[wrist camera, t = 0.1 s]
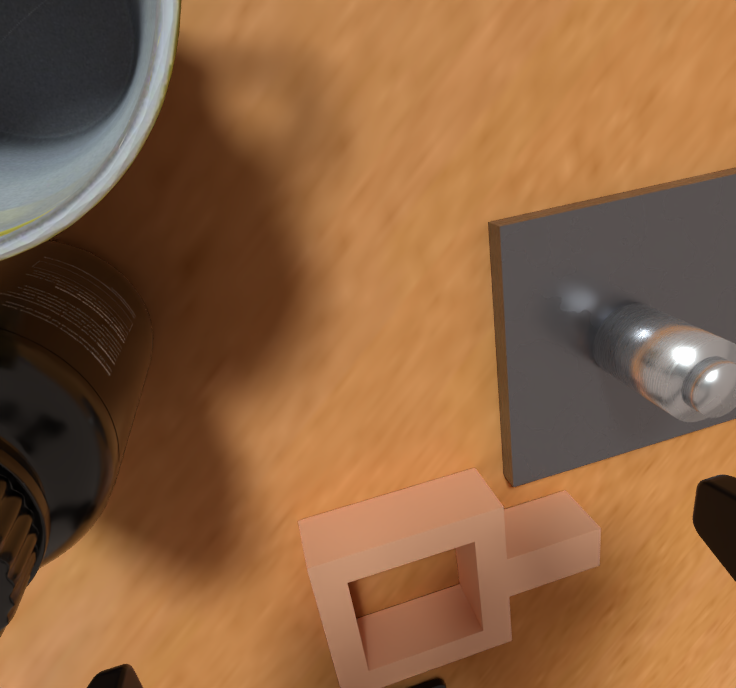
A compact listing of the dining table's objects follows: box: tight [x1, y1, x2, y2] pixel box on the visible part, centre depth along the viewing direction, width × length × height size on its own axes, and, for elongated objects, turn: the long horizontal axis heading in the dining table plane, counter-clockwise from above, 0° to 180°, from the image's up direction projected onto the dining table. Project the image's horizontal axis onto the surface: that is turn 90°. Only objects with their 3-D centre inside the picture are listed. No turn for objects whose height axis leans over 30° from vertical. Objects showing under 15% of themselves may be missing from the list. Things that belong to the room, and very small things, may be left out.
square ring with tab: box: [298, 468, 601, 688], centre depth 27 cm, size 9×14×3 cm, turn 99°
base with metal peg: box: [488, 168, 736, 487], centre depth 23 cm, size 13×16×6 cm
